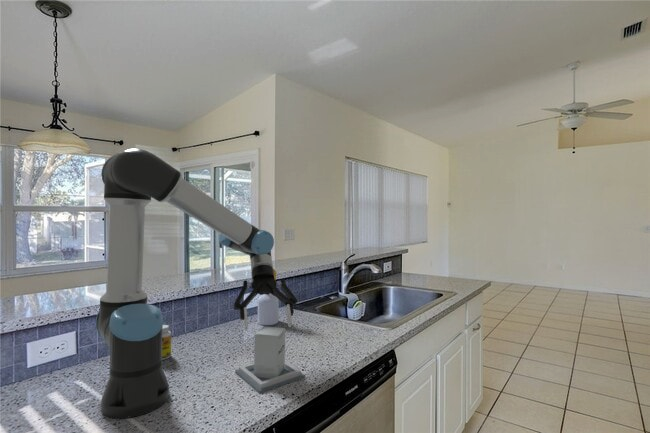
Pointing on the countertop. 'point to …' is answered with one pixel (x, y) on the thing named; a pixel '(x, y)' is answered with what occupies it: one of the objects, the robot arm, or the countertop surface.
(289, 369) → the slate base tray
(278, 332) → the supplement box
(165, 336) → the supplement bottle
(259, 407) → the countertop surface
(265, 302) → the soap bottle
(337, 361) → the countertop surface
